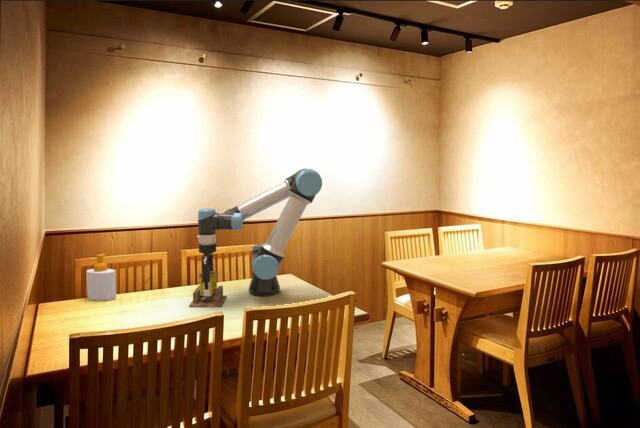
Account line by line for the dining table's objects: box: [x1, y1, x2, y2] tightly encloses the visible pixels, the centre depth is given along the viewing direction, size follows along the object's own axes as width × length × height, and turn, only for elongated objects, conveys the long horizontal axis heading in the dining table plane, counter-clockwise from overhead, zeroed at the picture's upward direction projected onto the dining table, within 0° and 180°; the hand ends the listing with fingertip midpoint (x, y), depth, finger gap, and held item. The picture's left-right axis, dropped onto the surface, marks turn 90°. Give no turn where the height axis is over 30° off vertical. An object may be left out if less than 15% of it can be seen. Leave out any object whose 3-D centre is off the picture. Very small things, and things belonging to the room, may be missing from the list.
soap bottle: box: [86, 253, 117, 302], centre depth 215 cm, size 13×8×20 cm, turn 81°
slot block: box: [189, 285, 228, 308], centre depth 211 cm, size 14×14×6 cm
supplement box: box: [198, 270, 218, 298], centre depth 210 cm, size 6×6×11 cm
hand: (208, 293), depth 211 cm, fingers closed on supplement box, 7 cm apart
